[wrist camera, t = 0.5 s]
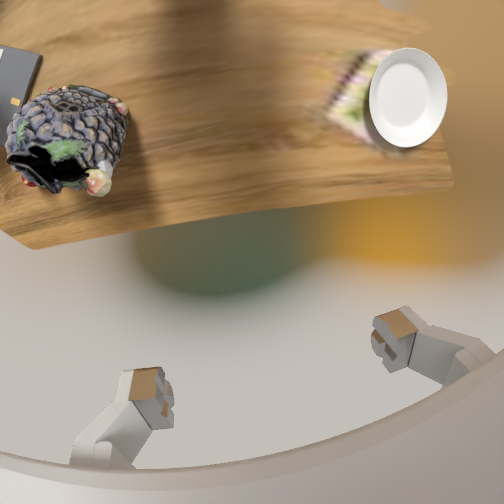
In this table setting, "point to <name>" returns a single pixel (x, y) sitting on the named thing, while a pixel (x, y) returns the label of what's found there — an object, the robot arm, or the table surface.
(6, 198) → the table surface
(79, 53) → the table surface
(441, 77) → the white plate
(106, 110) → the pineapple fairy house
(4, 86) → the lock base
